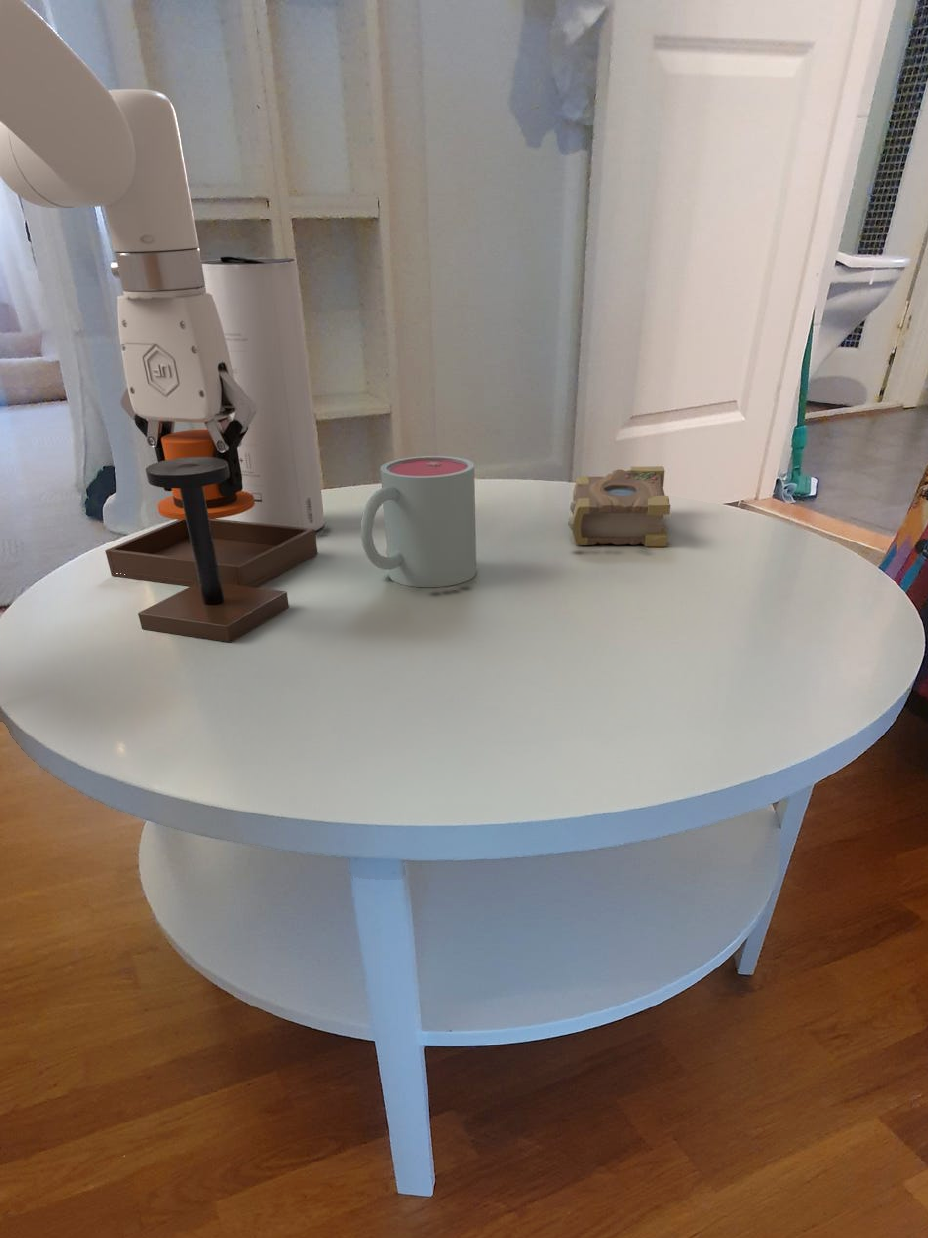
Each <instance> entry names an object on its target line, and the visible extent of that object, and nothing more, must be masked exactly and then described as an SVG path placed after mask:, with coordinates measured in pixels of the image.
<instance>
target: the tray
mask: <svg viewBox="0 0 928 1238" xmlns="http://www.w3.org/2000/svg"><path fill="white" fill-rule="evenodd" d="M209 522H210V527H211V532H212V538H213V543H214V548H215V553H216V559H217V564H218V569H219V574H220V580H221V583H225V584H233V585H241V586H248V587H256V588H259V587H260V586H262V585H264V584H265V583H267V582H269V581H271V580H273V579H274V578H276V577H278V576H280V575H282V574H285V572H287V571H289V570H291V569H293V568H294V567H296V566H299V565H300V564H302V563H303V562H305V561H307V560H309V559H311V558H313V557H314V556H316V555H318V554H319V553H318V545H317V538H316V531H315V530H314V529H309V528H300V527H290V526H280V525H271V524H261V523H251V522H241V521H238V520H230V519H222V518H216V519H209ZM105 555H106V560H107V563H108V566H109V570H110V574H111V576H112V577H118V578H126V579H127V578H128V579H134V580H139V581H140V580H141V581H147V582H148V581H149V582H156V583H163V584H171V585H178V586H185V587H191V586H193V585H195V584H196V583H198V582H199V580H198V576H197V571H196V566H195V561H194V556H193V551H192V546H191V541H190V537H189V532H188V527H187V522H186V520H177V519H175V520H174V521H172V522H169V523H167V524H164V525H162V526H160V527H157V528H155V529H153V530H150V531H148V532H146V533H143V534H141V535H138V536H135V537H133V538H131V539H129V540H126V541H124V542H121V543H119V544H116V545H114V546H112V547H110V548H107V549H105ZM116 573H118V574H116ZM120 573H121V574H120ZM124 574H125V575H124Z"/></svg>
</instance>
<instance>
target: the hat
mask: <svg viewBox="0 0 928 1238" xmlns="http://www.w3.org/2000/svg"><path fill="white" fill-rule="evenodd" d="M223 433H224V431H223ZM161 442H162V446H163V451H164V456H165V460H171V459H178V458H188V457H212V458H213V453H214V452H217V451H218V449H217V448H216V446H215V444H214V442H213V440H212V438H211V436H210V434H209V432H208V430H207V429H188V430H182V431H181V430H180V431H174V433H171V434H168V435H165V436H163V437H162V438H161ZM203 490H204V495H205V501H206V506H207V511H208V516H209V519H222V518H228V517H232V516H236V515H237V514H239V513H242V512H245V511H247V510H249V509H251V508H252V507H253V506H254V504H255V502H254V497H253V495H252V494H250V493H248V492H244V491H239V492H237V493H235V494H232V495H230V496H222V495H221V494H220V491H219V486H218V483H216V484H212V485H207V486H203ZM171 492H172V495H170V496H168V497H165V498H163V499H162V500H160V501H159V502H158V503H157V505H156V506H157V510H158V511H157V512H158V514H159V515H161V516H162V517H163V518H167V519H170V520H171V519H172V520H186V517H185V512H184V507H183V502H182V498H181V493H180V488H172V491H171Z"/></svg>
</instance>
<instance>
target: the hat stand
mask: <svg viewBox="0 0 928 1238" xmlns="http://www.w3.org/2000/svg"><path fill="white" fill-rule="evenodd" d="M145 473H146V477H147V481H148V484H149V485H151V486H153V487H157V488H161V489H162V488H163V489H164V488H180V493H181V498H182V502H183V507H184V512H185V517H186V522H187V527H188V532H189V537H190V541H191V546H192V551H193V556H194V561H195V566H196V571H197V576H198V580H199V582H198V583H196V584H195V585H193V586H188V587H187V588H185V589H182V590H181V591H179V592H176V593H175V594H173V595H171V596H168V597H167V598H165V599H162V600H161V601H159V602H157V603H155V604H153V605H151V606H149V607H147V608H146V609H143V610H141V611H138V613H137V615H138V619H139V622H140V626H141V629H142V630H146V631H154V632H160V633H166V634H173V635H179V636H186V637H193V638H198V639H199V638H200V639H204V640H212V641H217V642H226V643H232V642H233V641H235V640H236V639H238V638H240V637H241V636H243V635H245V634H246V633H248V632H250V631H251V630H253V629H254V628H256V627H258V626H260V625H261V624H264V623H265V622H266V621H268V620H269V619H271V618H273V617H274V616H277V615H278V614H279V613H281V612H283V611H285V610H286V609H288V608H289V607H290V604H289V598H288V592H287V591H286V590H279V589H271V588H263V587H248V586H241V585H233V584H225V583H221V580H220V574H219V569H218V564H217V559H216V553H215V548H214V543H213V538H212V532H211V527H210V522H209V516H208V511H207V506H206V501H205V495H204V490H203V486H207V485H212V484H216V483H219V482H222V481H224V480H226V479H228V478H229V476H230V472H229V467H228V463H227V461H225V460H223V459H219V458H212V457H188V458H178V459H171V460H165V461H161V462H158V461H157V462H154V463H152V464H150V465H148V466H147V467H146V468H145Z"/></svg>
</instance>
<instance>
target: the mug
mask: <svg viewBox="0 0 928 1238" xmlns="http://www.w3.org/2000/svg"><path fill="white" fill-rule="evenodd" d="M380 478H381V479H380V480H381V481H380V482H381V488H380V489H378V490H376V491H375V492H374V493H373V494H372V495H371V496H370V497H369V499H368V501H367V502H366V504H365V505H364V506H365V507H364V509H363V512H362V515H361V521H360V540H361V544H362V549H363V551H364V553H365V556H366V558H367V559H368V560H369V561H370V563H371V564H373V565H374V566H375V567H377V568H378V569H380V570H385V571H387V572H388V577H389V579H390V580H391V581H393V582H395V583H397V584H400V585H404V586H406V587H415V588H442V587H449V586H450V587H451V586H455V585H459V584H463V583H465V582H468V581H470V580H472V579H473V578H474V577H476V574H477V544H476V543H477V540H476V539H477V537H476V495H475V493H476V492H475V491H476V490H475V489H476V487H475V464H474V462H473V461H471V460H470V459H467V458H461V457H456V456H448V455H447V456H446V455H421V456H411V457H404V458H398V459H395V460H391V461H388V462H386V463H384V464H382V465H381V466H380ZM381 506H383V517H384V519H383V520H384V532H385V543H386V545H385V546H386V556H384V555H382V554H380V553H379V551H378V550H377V548H376V546H375V543H374V538H373V537H374V536H373V527H374V520H375V517H376V515H377V512H378V510H379V509H380V507H381Z"/></svg>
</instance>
